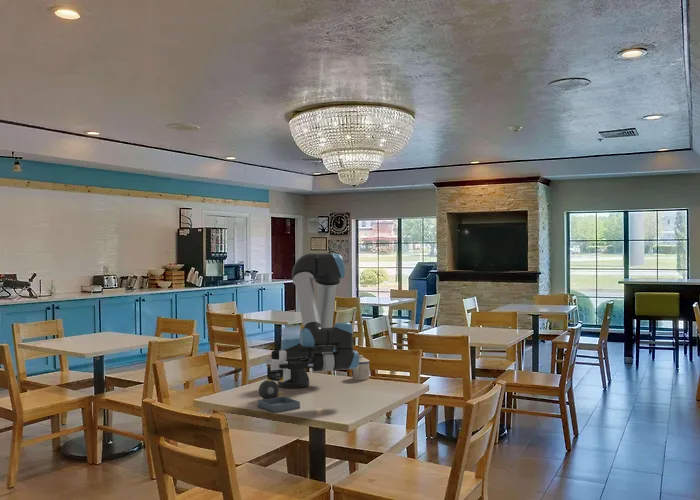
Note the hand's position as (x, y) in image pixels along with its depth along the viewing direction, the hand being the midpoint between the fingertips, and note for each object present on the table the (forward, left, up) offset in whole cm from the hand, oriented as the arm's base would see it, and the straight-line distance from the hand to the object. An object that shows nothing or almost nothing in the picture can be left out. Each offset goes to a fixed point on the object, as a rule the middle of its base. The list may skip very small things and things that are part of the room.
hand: (268, 364), depth 244 cm
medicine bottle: (+1, +4, -7) cm, 8 cm away
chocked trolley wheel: (-14, +9, -18) cm, 24 cm away
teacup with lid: (-24, +66, -18) cm, 72 cm away
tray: (+1, +4, -18) cm, 18 cm away
